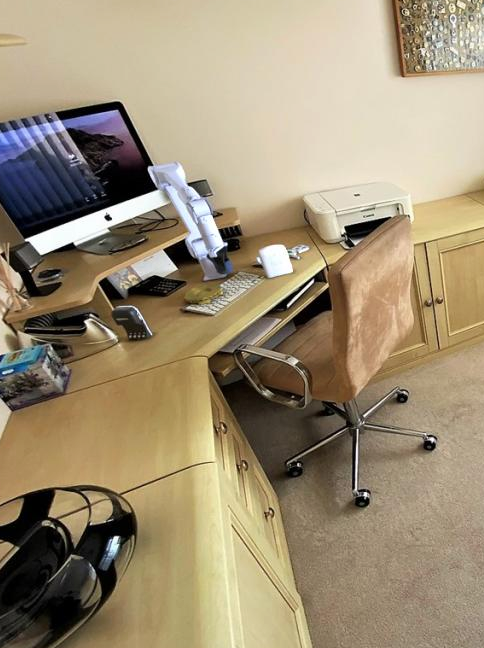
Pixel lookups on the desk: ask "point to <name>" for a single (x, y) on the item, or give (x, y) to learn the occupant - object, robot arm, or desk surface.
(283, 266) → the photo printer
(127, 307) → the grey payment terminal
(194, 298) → the gold flat disc
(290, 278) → the desk surface
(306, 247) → the robot figure
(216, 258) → the robot arm
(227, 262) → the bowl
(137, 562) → the desk surface
